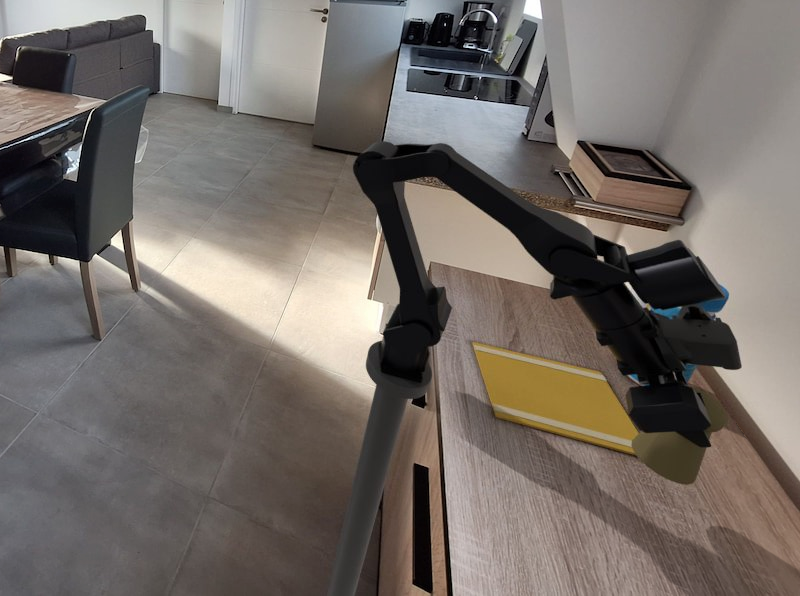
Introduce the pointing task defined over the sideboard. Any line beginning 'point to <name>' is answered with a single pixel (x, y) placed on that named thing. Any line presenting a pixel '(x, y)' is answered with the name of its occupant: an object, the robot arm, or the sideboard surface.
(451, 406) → the sideboard surface
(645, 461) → the cork
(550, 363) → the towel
